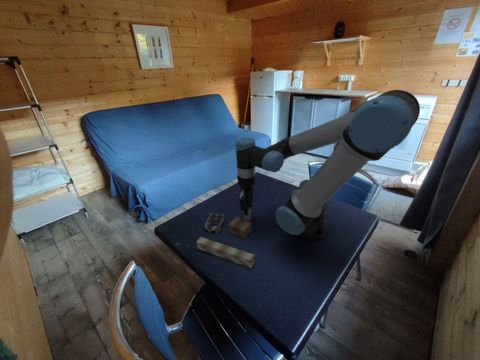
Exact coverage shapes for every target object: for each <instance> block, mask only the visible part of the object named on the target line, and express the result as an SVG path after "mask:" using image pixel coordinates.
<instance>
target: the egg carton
mask: <svg viewBox="0 0 480 360" xmlns="http://www.w3.org/2000/svg"><path fill="white" fill-rule="evenodd" d="M224 219H225V214H224V213H223V214H221V213H213V212H210V213H209V215H208V217H207V219H206V222H205V223H204V227H205V230H206V232H208V233H210V234H211V233H212V232H215V234H218V233H219V232H221V231H222V227H223V223H224V221H225V220H224ZM212 223H213V224H214V225H213V226H212V227H211V224H212ZM216 225H218V226H216Z"/></svg>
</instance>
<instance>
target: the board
mask: <svg viewBox="0 0 480 360" xmlns="http://www.w3.org/2000/svg"><path fill="white" fill-rule="evenodd" d="M195 242H196V247H197V250H199V251H203V252H205V253H208V254H211V255H214V256H216V257H219V258H222V259H224V260H228V261H231V262H232V263H236V264H238V265H240V266H244V267H247V268H249V269H252V267H253V266H254V263H255V254H253V253H249V252H247V251H244V250H241V249H238V248H235V247H232V246H231V245H230V246H229V245H227V244H223V243H221V242H217V241H214V240H212V239H209V238H205V237H202V236H200V237H199V238H198V239H197V240H196V241H195Z"/></svg>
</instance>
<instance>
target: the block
mask: <svg viewBox="0 0 480 360" xmlns="http://www.w3.org/2000/svg"><path fill="white" fill-rule="evenodd" d="M252 231H253V228H252V222H250V221H249V220H245V219H244V218H241V217H239V216H236V217H235V218H233V219H232V220H231V221H230V222H229V223H228V233H229V234H231V235H233V236H236V237H238V238H240V239H242V240H245V239H246V238H247V237H248V236H249V235H250V234H251V232H252Z"/></svg>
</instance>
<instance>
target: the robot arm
mask: <svg viewBox="0 0 480 360" xmlns="http://www.w3.org/2000/svg"><path fill="white" fill-rule="evenodd" d="M420 107H421V106H420V103H419V101H418V99H417V97H416V96H415V95H414V94H412V93H411V92H409V91H407V90H403V89H394V90H389V91H388V90H387V91H386V92H383V93H381V94H379V95H378V96H376V97H373V98H371V99H368V100H367V101H365V102H364V103H363V104H361V105H359V106H358V108H357V109H356V110H355V111H352V112H350V113H347V114H345V115H343V116H340V117H337V118H334V119H333V120H330V121H327V122H324V123H322V124H319V125H316V126H315V127H312V128H309V129H307V130H304V131H302V132H299V133H296V134H294V135H292V136H288V137H284V138H283V139H281V140H279V141H278V142H276V143H274V144H271V145H270V146H267V147H266V148H265V147H260V146H258V145H256V141H255V139H254V138H252V137H240V138H238V139H236V141H235V155H236V173H237V174H236V175H237V176H236V177H237V178H236V179H237V184H238V185H239V186H240V194H238V195H237V198H238V200H239V206H240V210H241V211H243V220H246V221H248V222H250V221H251V219H252V218H251V217H252V215H251V210H252V209H251V208H253V205H252V204H253V201H254V191H255V183H256V168H259V169H262V170H265V171H266V172H272V173H277V172H279V171H280V170H281V168H283V165H284V162H285V160H287V159H288V158H292V157H295V156H297V155H300V154H303V153H307V152H310V151H314V150H318V149H320V148H324V147H326V146H330V145H332V144H333V145H334V144H337V143H339V142H340V143H339V144H338V145H337V146H336V148H335V149H334V150H333V151H332V153H331V154H330V155H329V156H328V157H327V159H326V160H325V161H324V162H323V163H322V165H320V167H318V169H317V170H316V172H314V173H313V175H312V177H311V178H310V179H304V180H301V181H300V183H299V184H298V189H296V190H294V191H293V192H292V193H291V195H290V196H289V197H288V198H287V199H286V200H285V202H283V204H281V206H279V207H278V208H277V209H276V211H275V212H274V213H275V219H276V222H277V224H278V225H279V227H280V228H281V229H282V230H283V231H284V232H286V233H288V234H289V235H293V236H297V237H298V238H301V239H304V240H306V241H307V240H308V241H318V240H321V239H322V238H324V237H325V235H326V234H327V231H328V230H327V229H328V225H327V221H326V217H325V216H326V212H327V206H328V201H329V200H330V199H331V198H332V197H333V196H335V194H336V193H337V192H339V190H340V189H342V188H343V186H345V185H346V183H348V182H349V181H350V180H351V179H352V178H353V177H354V176H355V175H356V174H357V173H358V172H359V171H360V170H362V168H363V167H365V166H366V164H367V163H369V162H375V161H376V162H377V161H379V160H381V159H382V158H383V157H384V156H385V155H386V154H387V153H388V152H390V150H392V149H394V148H395V147H397V146H399V145H400V144H401V143H402V142H403V141H405V139H406V138H407V137H408V136H409V134H410V132H411V130H412V127H414V125H415V124H416V122H417V121H418V119H419V116H420V112H421V108H420Z"/></svg>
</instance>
